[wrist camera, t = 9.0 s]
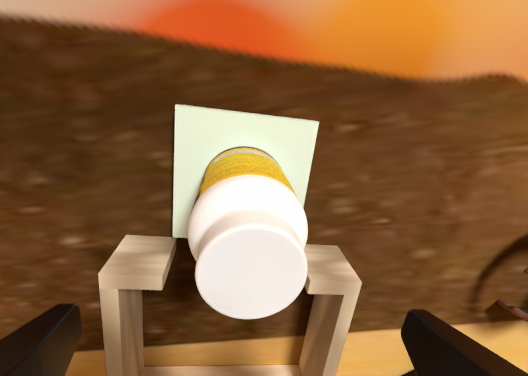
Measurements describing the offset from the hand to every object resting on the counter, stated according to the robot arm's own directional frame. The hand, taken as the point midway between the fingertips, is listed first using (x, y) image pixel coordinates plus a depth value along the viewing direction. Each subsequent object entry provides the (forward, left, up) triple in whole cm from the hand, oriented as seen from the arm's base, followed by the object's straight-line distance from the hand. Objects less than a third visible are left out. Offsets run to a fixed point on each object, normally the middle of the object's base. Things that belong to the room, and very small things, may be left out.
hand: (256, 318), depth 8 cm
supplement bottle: (0, 0, -12) cm, 12 cm away
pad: (0, 0, -13) cm, 13 cm away
